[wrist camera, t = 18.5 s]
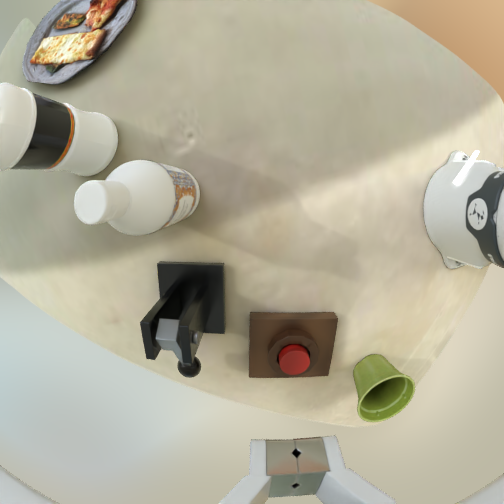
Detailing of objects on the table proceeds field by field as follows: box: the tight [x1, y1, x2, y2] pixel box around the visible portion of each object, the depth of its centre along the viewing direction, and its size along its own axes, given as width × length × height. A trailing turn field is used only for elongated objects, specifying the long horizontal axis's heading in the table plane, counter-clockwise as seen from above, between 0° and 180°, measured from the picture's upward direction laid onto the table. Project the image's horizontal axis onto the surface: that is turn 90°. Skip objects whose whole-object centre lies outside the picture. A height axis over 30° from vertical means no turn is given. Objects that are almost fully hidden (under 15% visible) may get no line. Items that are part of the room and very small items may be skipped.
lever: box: [155, 319, 201, 377], centre depth 31 cm, size 13×3×3 cm
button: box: [279, 344, 310, 375], centre depth 35 cm, size 4×4×2 cm
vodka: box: [0, 83, 118, 176], centre depth 18 cm, size 9×9×30 cm
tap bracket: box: [140, 261, 225, 364], centre depth 31 cm, size 10×9×13 cm
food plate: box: [22, 0, 137, 84], centre depth 26 cm, size 25×23×4 cm
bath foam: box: [74, 160, 200, 236], centre depth 25 cm, size 7×7×20 cm
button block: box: [249, 312, 338, 378], centre depth 37 cm, size 12×10×4 cm
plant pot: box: [353, 354, 415, 422], centre depth 36 cm, size 9×9×9 cm
